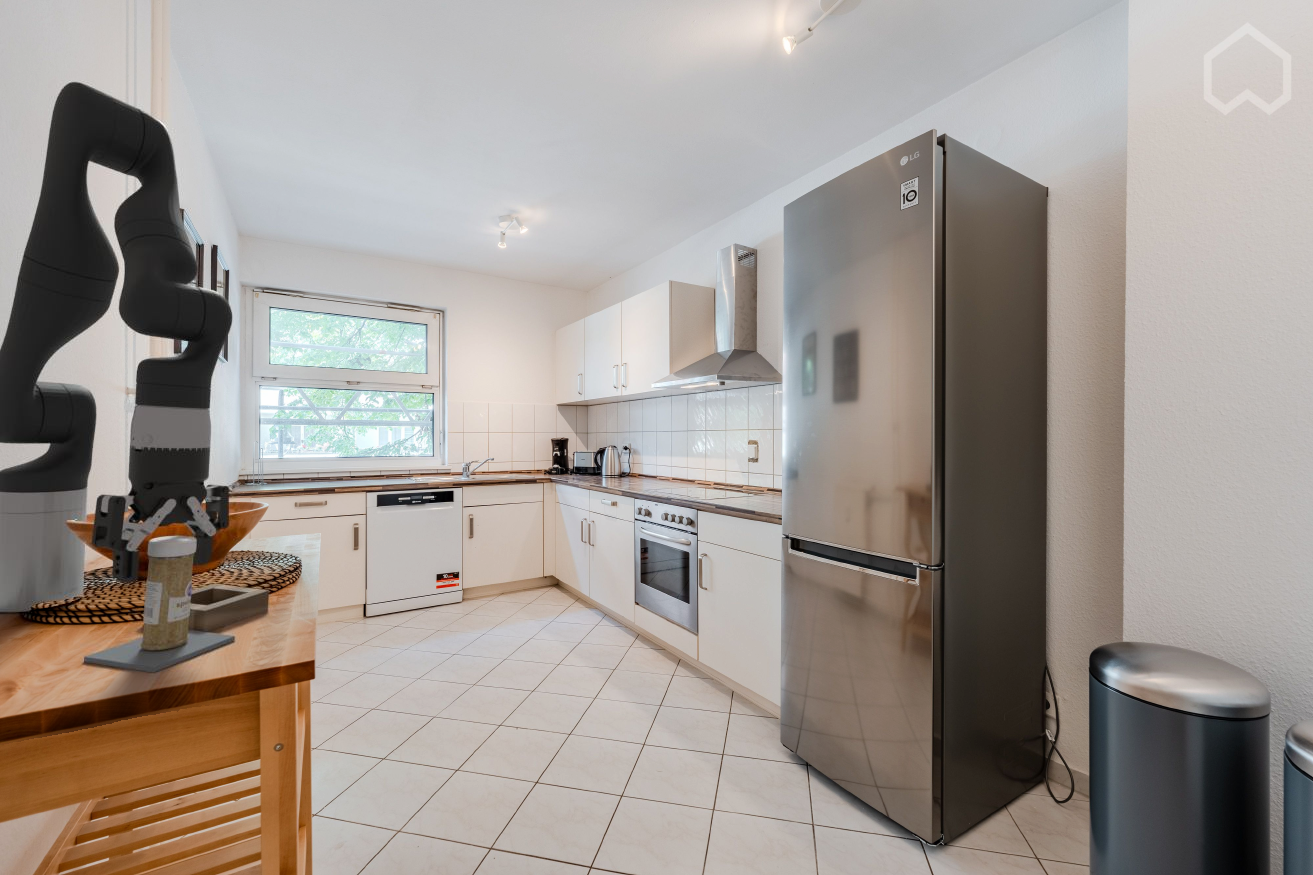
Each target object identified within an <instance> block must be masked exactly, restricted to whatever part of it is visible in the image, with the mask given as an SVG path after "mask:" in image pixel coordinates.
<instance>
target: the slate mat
mask: <svg viewBox="0 0 1313 875" xmlns="http://www.w3.org/2000/svg"><path fill="white" fill-rule="evenodd" d="M187 635H188V641H187V642H186V643H184V644H182V645H180V646H177V647H174V648H171V649H166V650H155V651H152V650H146V649H143V648H142V647H141V643H142V641H143V636H142V637H140V638H137V639H134V640H129V641H127V642H125V643H122V644H117V645H115V646H111V647H109V648H107V649H103V650H101V651H100V650H99V651H97V652H94V653H90V654H88V655H84V657H83V662H84V663H89V664H90V663H91V664H97V665H102V666H103V665H104V666H109V667H116V668H123V669H128V670H134V671H140V672H148V673H154V674H155V672H158V671H162V670H164V669H166V668H169V667H172V666H173V665H176V664H179V663H182V662H184V661H186V660H189V659H192V658H194V657H196V656H199V655H201V654H204V653H207V652H209V651H212V650H214V649H218V648H219V647H222V646H224V645H227V644H229V643H231V642H234V641H235V640H236V636H235V635H229V634H224V633H223V634H222V633H215V632H210V631H207V632H202V631H195V630H188V634H187Z"/></svg>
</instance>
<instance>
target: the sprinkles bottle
mask: <svg viewBox="0 0 1313 875" xmlns="http://www.w3.org/2000/svg"><path fill="white" fill-rule="evenodd" d="M196 542H197V540H196V538H194V537H191V535H190V536H188V535H168V536H159V537H155V538H151V539H150V540H149V541H148V544H147V546H148V547H147V555H148V566H147V567H148V569H147V579H146V583H145V594H144V595H145V596H144V597H145V598H144V608H143V618H142V620H143V632H142V637H143V641H142V643H141V647H142V648H143V649H146V650H152V651H155V650H166V649H171V648H174V647H177V646H180V645H182V644H184V643H186V642H187V641H188V635H187V634H188V620H189V615H190V602H191V590H192V585H193V579H192V578H193V568H194V564H193V556H194V554H193V553H195V552H196Z"/></svg>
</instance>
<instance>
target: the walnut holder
mask: <svg viewBox="0 0 1313 875" xmlns="http://www.w3.org/2000/svg"><path fill="white" fill-rule="evenodd" d="M269 593H270V590H269V589H268V590H267V589H260V588H251V587H243V586H235V585H228V584H227V585H226V584H219V583H217V584H216V583H213V584H210V585H205V586H202V587H198V588H196V589H191V602H190V615H189V620H188V630H195V631H202V632H210V631H213V630H215V629H218V628H221V627H223V626H227V625H229V624H232V623H234V622H238V621H240V620H243V619H245V618H249V617H251V616H255V615H257V614H261V613H263V612H266V611H268V610H269V598H270V594H269Z"/></svg>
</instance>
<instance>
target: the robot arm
mask: <svg viewBox="0 0 1313 875" xmlns="http://www.w3.org/2000/svg"><path fill="white" fill-rule="evenodd" d="M50 120H51V121H50V127H49V132H48V133H49V134H48V140H47V148H46V154H45V163H44V170H43V177H42V184H41V188H40V189H41V190H40V192H39V194H40V195H39V197H38V203H37V206H36V209H35V210H36V211H35V214H34V218H33V220H32V225H31V229H30V232H29V236H28V238H27V241H26V245H25V248H24V252H23V256H22V260H21V263H20V268H19V271H18V276H17V280H16V286H15V291H14V296H13V303H12V306H11V311H10V315H9V320H8V323H7V328H6V331H5V335H4V336H3V337H4V338H3V340H2V343H1V345H0V444H1V443H2V444H16V445H17V444H18V445H20V444H23V445H25V444H27V445H28V444H35V445H36V444H40V445H41V444H43V445H44V444H49V446H48V449H47V451H46V452H45V453H44V454H42V455H41V456H39V457H37V458H35V459H32V460H30V461H28V462H24V463H22V464H18V465H14V466H10V467H8V468H4V469H2V470H0V613H19V612H30V609H31V607H32V606H34V605H35V604H38V603H43V602H50V601H59V600H65V599H69V598H74V597H77V596H79V595H81V594H83V595H84V579H85V577H84V576H85V564H86V563H85V562H86V560H85V558H86V543H85V544H84V543H83V542H82V541H81V540H80V539H79V538H78V537H77V536H76V535H75V534H74V533H73V531H71V530H70V529H69V527H68V526H67V525H66V521H67V520H75V519H77V520H75V521H84V522H86V523H87V514H88V513H87V511H88V510H87V508H88V481H89V475H90V472H91V470H92V466H93V465H92V463H93V453H94V452H93V451H94V443H95V442H94V441H95V433H96V425H97V404H96V399H95V397H94V395H93V393H92V392H91V390H90V389H88V388H87V387H86V386H83V385H79V384H75V383H63V382H50V381H38V379H39V377H40V375H41V373H42V371H43V369H44V368H45V366H46V364H47V363H48V362H49V360H50V359H51V358H52V357H53V356H54V355H55V353H57V352H58V351H59V350H60V349H62V347H64V346H65V345H67V344H68V343H70V341H72V340H73V339H75V338H77V337H78V336H79V335H81V334H83V332H85V331H87V330H88V329H89V328H91V327H92V326H94V325H95V323H97V322H98V321H100V319H102V318H103V317H104V315H105V314H106V313H107V312H108V310H109V309H110V307H111V303H112V300H113V296H114V293H115V289H116V286H117V281H118V278H119V273H120V265H119V260H118V258H117V255H116V252H115V250H114V247H113V246H112V244H111V242H110V240H109V238H108V235H107V234H106V232H105V231H104V228H103V227H102V224H101V222H100V221H99V219H98V217H97V215H96V212H95V209H94V207H93V204H92V201H91V198H90V196H89V189H88V166H89V163H90V162H91V163H94V164H97V165H100V166H102V167H105V168H107V169H109V170H113V171H115V172H118V173H121V174H123V175H126V176H130V177H135V178H136V179H137V180H138V181H139V183H140V185H141V186H140V187H139V188H138V189H137V190H136V191H135V192H133V193H132V194H130V195H129V196H128V197H126V198H125V199H124V201H123V202H121V204H120V205H119V207H118V208H117V209H116V212H115V214H114V215H115V216H114V223H113V224H114V225H113V226H114V233H115V236H116V239H117V242H118V245H119V249H120V251H121V256H122V259H123V263H124V273H123V274H124V275H123V277H124V278H123V284H122V288H121V292H120V296H119V301H118V302H119V303H118V312H119V316H120V317H121V319H122V321H123V322H124V323H125V325H126V326H127V327H128V328H129V329H131V330H132V331H134V332H135V333H138V334H140V335H144V336H148V337H156V338H161V339H169V340H176V341H181V342H182V341H183V342H184V341H185V342H187V345H186V347H185V348H184V349H183V351H182V353H180V354H179V355H176V356H167V357H166V356H165V357H151V358H150V357H149V358H145V359H142V360H141V361H139V363H138V365H137V368H136V375H135V376H136V378H135V398H134V399H135V402H134V404H135V405H134V410H133V414H132V418H131V425H130V442H129V457H128V480H129V482H130V484H131V488H130V491H129V492H128V494H125V495H124V494H123V495H114V494H100V495H98V496H97V499H96V503H95V504H96V505H95V512H94V520H93V529H92V536H91V545H92V546H93V547H94V548H102V549H103V548H104V549H110V550H111V551H112V569H111V570H112V571H111V572H112V576H113V578H115V579H116V581H117V582H119V583H127V584H129V583H133V582H137V581H138V580H139V562H140V560H139V559H140V550H137V549H138V547H139V546H140V545H141V544H142V542H143V541H144V540H145V539H146V537H147V536H149V535H152V534H153V533H154V532H155V531H156V529H157V528H159V527H167V526H170V525H172V524H183V525H185V526H187V528H188V529H189V530H190V531H191V533H192V534H193V535H190V537H194V538H196V540H197V542H196V552H195V553H193V554H194V556H193V566H194V565H196V566H204V565H207V564H209V562H210V559H211V558H212V554H213V552H212V551H213V541H214V540H213V536H214V535H215V534H216V533H217V532H219V531H221V530H226V529H227V528H228V527H229V525H230V489H229V486H227V485H221V484H210V483H209V484H207V485H206V486H205V482H206V481H207V480H208V479H209V476H210V461H211V460H210V458H211V442H212V441H211V439H212V422H211V416H210V415H211V414H210V413H211V410H210V408H211V395H212V394H211V393H212V392H211V391H212V380H213V375H214V372H215V369H216V365H217V363H218V361H219V360H218V359H219V356H220V355H221V351H222V349H223V347H224V344H225V342H226V341H227V338H228V335H229V334H230V331H231V328H232V325H233V311H232V308H231V305H230V304H229V301H228V300H227V298H225V296H223V294H221V293H220V292H218V291H215V290H213V289H210V288H205V287H200V286H194V285H190V283H192V282H193V280H194V279H196V278H197V275H198V263H197V260H196V256H195V254H194V251H193V248H192V245H191V242H190V239H189V237H188V235H187V234H188V233H187V230H186V229H185V225H184V221H183V218H182V214H181V207H180V198H179V196H180V195H179V194H180V193H179V185H178V176H177V168H176V158H175V152H174V145H173V142H172V138H171V135H170V133H169V130H168V128H167V127H166V125H165V124H164V123H163V122H162V121H161V120H160V119H158V118H156V117H155V116H154V115H152V114H150V113H148V112H146V111H144V110H142V109H139V108H138V107H136V106H134V105H131V104H129V103H127V102H126V101H125V102H124V101H123V100H121V99H118V98H116V97H114V96H112V95H110V94H108V93H105V92H104V91H101V90H99V89H97V88H94V87H92V86H90V85H88V84H85V83H83V82H78V81H71V82H68V83H67V84H66V85H64V86H62V88H61V90H60V92H59V94H58V95H57V97H56V100H55V103H54V107H53V110H52V115H51V119H50ZM204 501H205V509H204V508H203V507H202V506H201V505H202V503H203V502H204ZM130 509H131V510H132V511H131V512H130V513H129V514H128V515H127V517H126V518H125V513H128V512H129V510H130ZM141 521H142V523H140V522H141Z"/></svg>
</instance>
